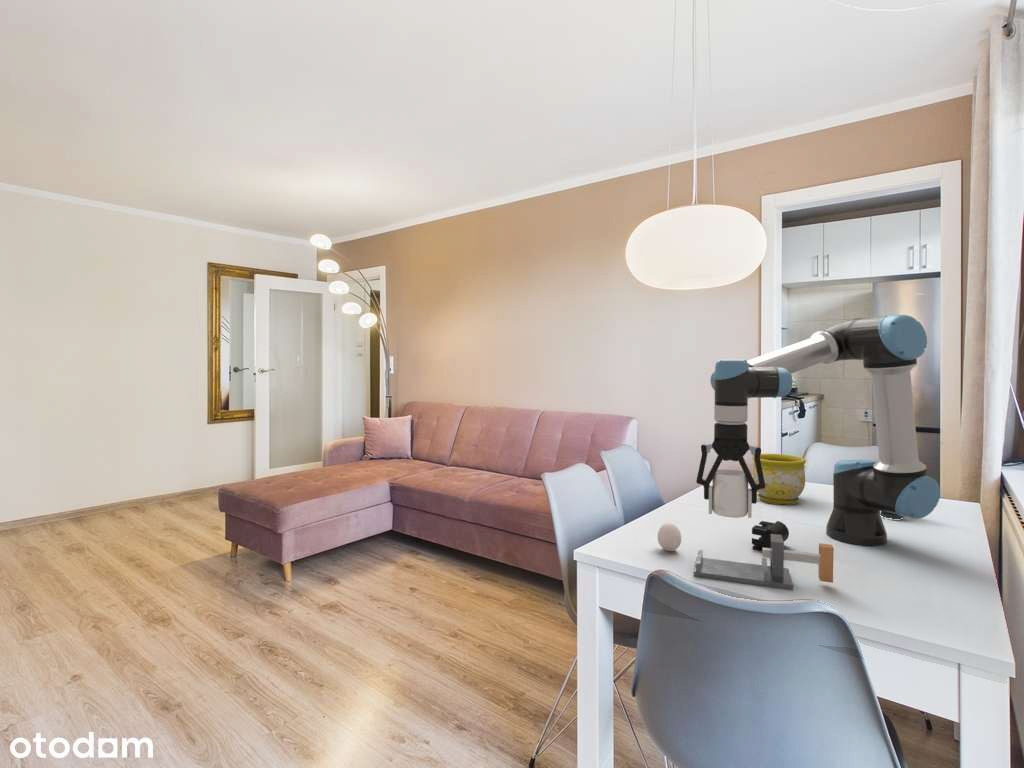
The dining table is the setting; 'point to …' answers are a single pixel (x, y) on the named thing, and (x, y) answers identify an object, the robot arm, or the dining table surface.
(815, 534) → the dining table surface
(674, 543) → the egg
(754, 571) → the dock
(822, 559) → the lever
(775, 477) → the flowerpot
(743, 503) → the mug
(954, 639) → the dining table surface
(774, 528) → the end cap
